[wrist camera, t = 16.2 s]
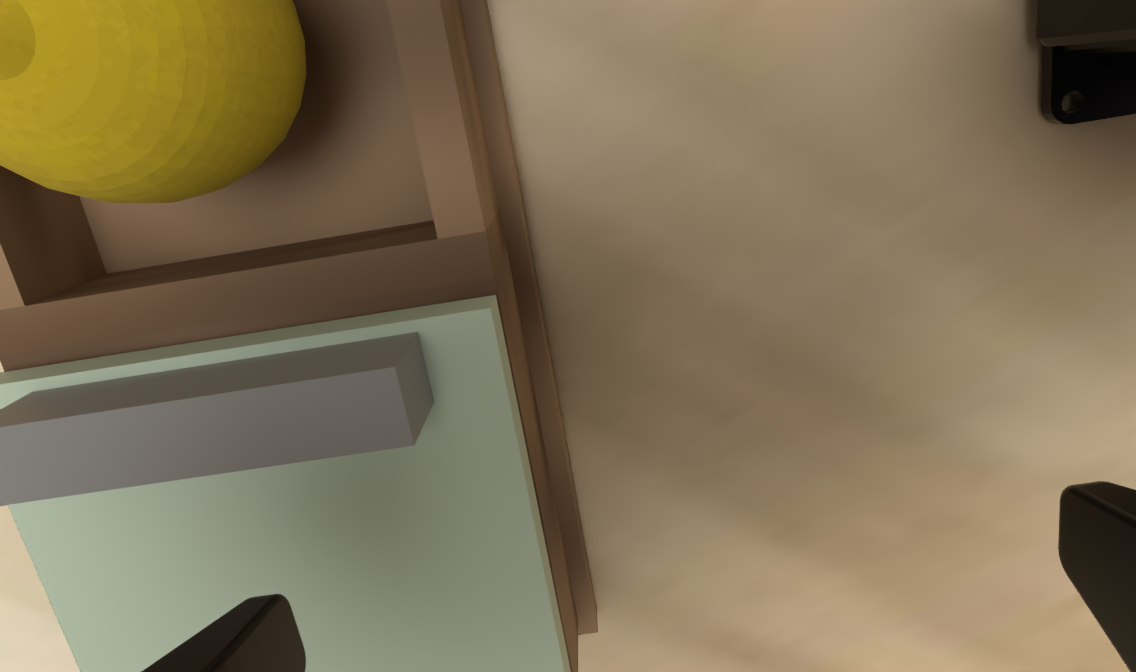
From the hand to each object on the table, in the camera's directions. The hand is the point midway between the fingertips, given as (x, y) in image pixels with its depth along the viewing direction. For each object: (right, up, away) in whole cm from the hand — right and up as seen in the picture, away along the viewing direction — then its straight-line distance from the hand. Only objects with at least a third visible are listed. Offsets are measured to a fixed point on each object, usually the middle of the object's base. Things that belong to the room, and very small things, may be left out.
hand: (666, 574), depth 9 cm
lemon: (-9, +9, +9) cm, 16 cm away
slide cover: (-7, -2, +9) cm, 12 cm away
